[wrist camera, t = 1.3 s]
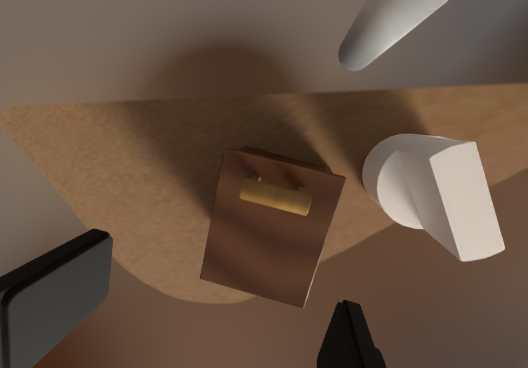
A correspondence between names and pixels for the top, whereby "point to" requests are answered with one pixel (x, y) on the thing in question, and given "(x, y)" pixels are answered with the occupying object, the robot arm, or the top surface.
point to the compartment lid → (269, 226)
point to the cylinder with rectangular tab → (435, 191)
